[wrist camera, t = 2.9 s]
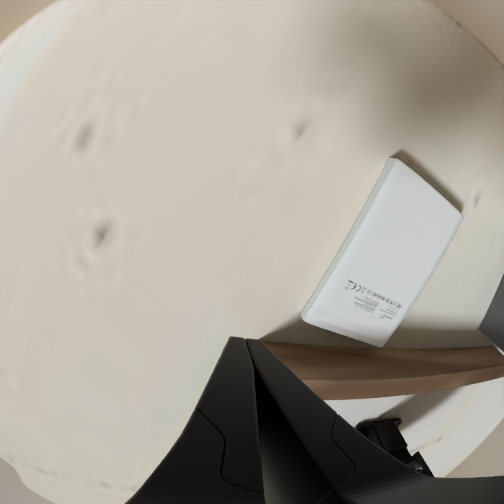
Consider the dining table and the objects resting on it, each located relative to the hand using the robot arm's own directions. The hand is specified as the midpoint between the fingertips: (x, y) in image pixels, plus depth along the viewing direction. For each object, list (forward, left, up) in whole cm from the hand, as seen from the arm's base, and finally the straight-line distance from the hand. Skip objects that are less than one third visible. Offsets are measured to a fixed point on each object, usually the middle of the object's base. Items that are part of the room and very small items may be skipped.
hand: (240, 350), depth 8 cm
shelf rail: (-8, -19, -11) cm, 24 cm away
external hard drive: (0, -12, -12) cm, 17 cm away
